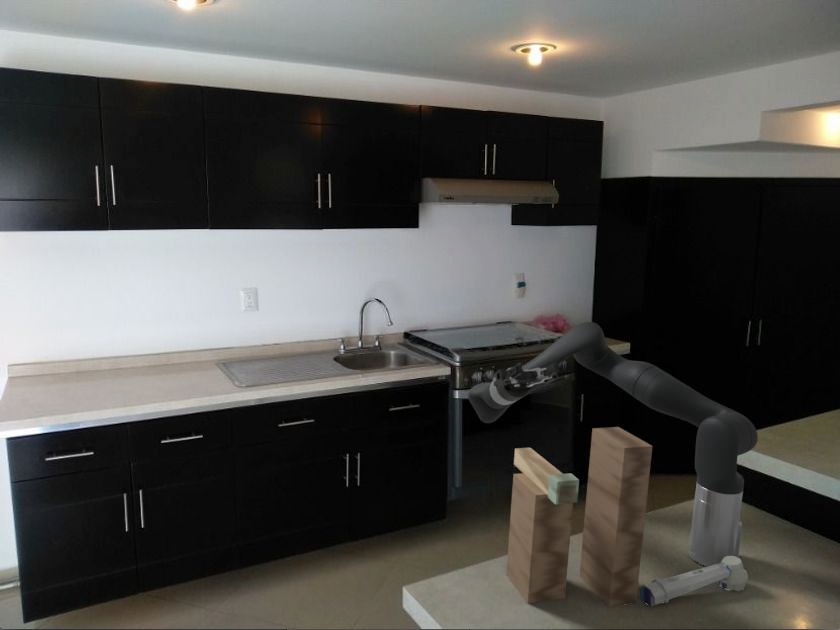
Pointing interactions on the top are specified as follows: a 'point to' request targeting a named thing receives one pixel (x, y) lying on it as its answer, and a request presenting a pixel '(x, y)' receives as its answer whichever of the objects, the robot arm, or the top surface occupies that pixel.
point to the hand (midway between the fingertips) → (538, 367)
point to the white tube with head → (696, 581)
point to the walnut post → (615, 514)
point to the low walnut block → (538, 542)
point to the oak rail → (547, 476)
